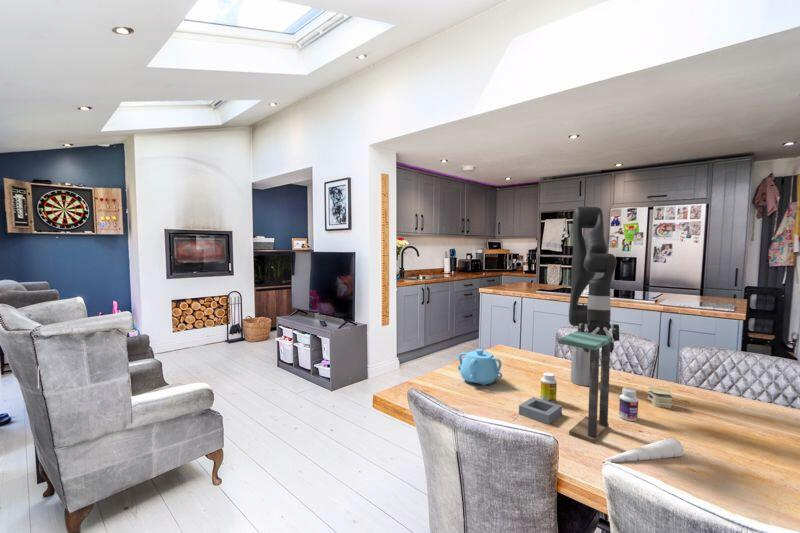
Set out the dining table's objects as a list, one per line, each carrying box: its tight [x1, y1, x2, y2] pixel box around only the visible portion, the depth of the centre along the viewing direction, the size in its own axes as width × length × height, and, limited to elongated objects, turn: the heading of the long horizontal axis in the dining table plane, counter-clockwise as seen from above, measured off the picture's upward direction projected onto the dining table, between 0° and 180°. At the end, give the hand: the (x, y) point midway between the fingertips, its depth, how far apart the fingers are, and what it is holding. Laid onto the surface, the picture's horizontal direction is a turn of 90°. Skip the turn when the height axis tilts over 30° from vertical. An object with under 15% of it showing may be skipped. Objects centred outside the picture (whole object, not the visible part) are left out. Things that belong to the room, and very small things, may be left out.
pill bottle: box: [618, 387, 639, 422], centre depth 125 cm, size 5×5×10 cm
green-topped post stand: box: [557, 330, 612, 444], centre depth 117 cm, size 15×11×29 cm
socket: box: [518, 396, 563, 425], centre depth 128 cm, size 10×10×3 cm
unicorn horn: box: [603, 436, 685, 463], centre depth 102 cm, size 5×24×5 cm, turn 97°
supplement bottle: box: [539, 372, 558, 404], centre depth 139 cm, size 6×6×10 cm
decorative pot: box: [457, 348, 503, 386], centre depth 160 cm, size 16×16×14 cm
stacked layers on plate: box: [647, 386, 674, 409], centre depth 136 cm, size 10×9×6 cm
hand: (597, 352), depth 135 cm, fingers open, 8 cm apart
